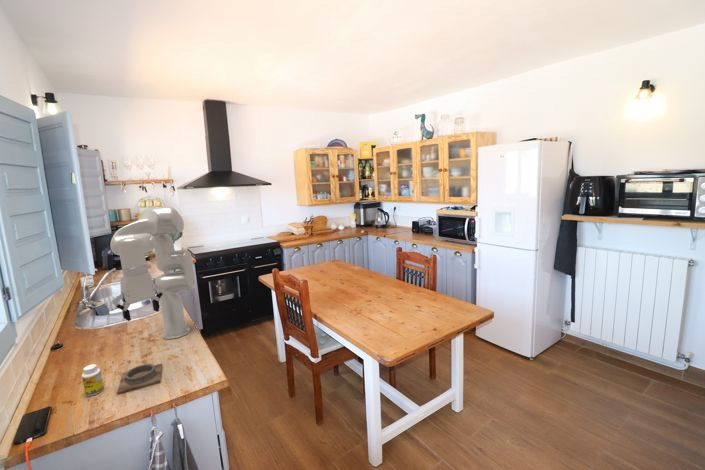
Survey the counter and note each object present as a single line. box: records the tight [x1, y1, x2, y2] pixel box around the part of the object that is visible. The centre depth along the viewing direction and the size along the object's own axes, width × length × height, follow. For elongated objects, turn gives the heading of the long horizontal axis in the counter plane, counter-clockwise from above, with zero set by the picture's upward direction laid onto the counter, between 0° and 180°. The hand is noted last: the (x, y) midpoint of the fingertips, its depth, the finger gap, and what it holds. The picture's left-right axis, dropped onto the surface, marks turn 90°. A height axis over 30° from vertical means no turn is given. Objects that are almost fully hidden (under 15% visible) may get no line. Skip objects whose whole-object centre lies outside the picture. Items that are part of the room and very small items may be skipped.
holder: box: [116, 363, 163, 396], centre depth 133 cm, size 14×14×4 cm
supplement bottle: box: [81, 363, 104, 397], centre depth 126 cm, size 6×6×10 cm
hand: (142, 315), depth 126 cm, fingers open, 9 cm apart
